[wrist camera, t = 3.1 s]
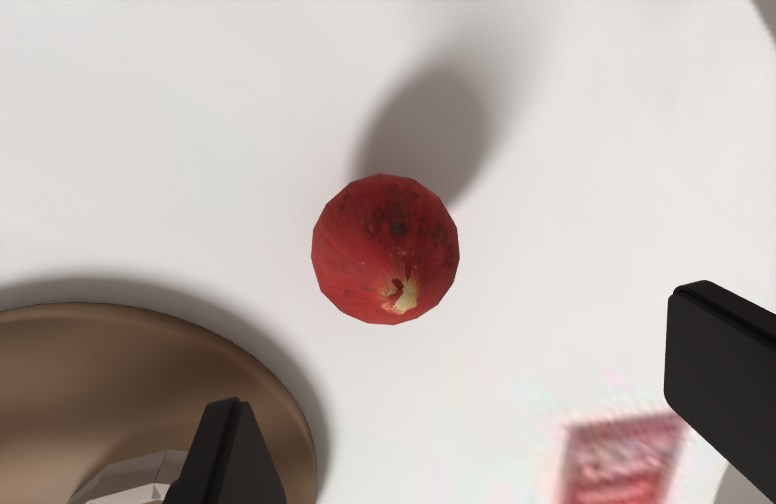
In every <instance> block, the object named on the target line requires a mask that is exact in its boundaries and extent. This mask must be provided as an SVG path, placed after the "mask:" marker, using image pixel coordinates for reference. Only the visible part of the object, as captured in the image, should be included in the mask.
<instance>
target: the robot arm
mask: <svg viewBox="0 0 776 504" xmlns="http://www.w3.org/2000/svg"><path fill="white" fill-rule="evenodd" d="M664 396H665V399H666V401H667V403H668V404H669V406H670V407H671V408H672V409H673V410H674V411H675V412H676V413H677V414H678V415H679V416H680V417H681V418H683V419H684V420H685V421H686V422H687V423H688V424H689V425H690V426H691V427H692V428H693V429H694V430H695V431H697V432H698V433H699V434H700V435H701V436H702V437H703V438H704V439H705V440H706V441H707V442H708V443H709V444H710V445H712V446H713V447H714V448H715V449H716V450H717V451H718V452H719V453H720V454H721V455H722V456H723V457H724V458H726V459H727V460H728V461H729V462H730V463H731V464H732V465H733V466H734V467H735V468H736V469H737V470H738V471H740V472H741V473H742V474H743V475H744V476H745V477H746V478H747V479H748V480H749V481H750V482H751V483H753V485H755V486H756V487H757V488H758V489H759V490H760V491H761V492H762V493H763V494H764V495H765V496H766V497H767V498H769V499H770V500H771V501H772V502H773V503H774V504H776V314H774V313H772V312H770V311H768V310H766V309H764V308H762V307H760V306H758V305H756V304H754V303H752V302H750V301H748V300H746V299H744V298H742V297H740V296H738V295H736V294H734V293H732V292H730V291H728V290H726V289H724V288H722V287H720V286H718V285H717V284H715V283H713V282H710V281H707V280H701V281H697V282H693V283H689V284H685V285H681V286H678V287H676V288H675V290H674V291H673V295H671V296H670V297H669V299H668V311H667V332H666V352H665V373H664ZM162 504H287V502H286V495H285V491H284V488H283V486H282V483H281V481H280V478H279V476H278V473H277V471H276V468H275V466H274V463H273V461H272V458H271V456H270V453H269V451H268V448H267V446H266V443H265V441H264V438H263V436H262V433H261V431H260V428H259V426H258V423H257V421H256V418H255V416H254V413H253V411H252V408H251V406H250V404H249V402H248V401H243V402H241V401H240V399H239V398H238V397H236V396H234V397H230V398H226V399H222V400H218V401H214V402H210V403H208V404H207V405H206V407H205V409H204V412H203V415H202V417H201V420H200V423H199V425H198V428H197V431H196V433H195V436H194V439H193V441H192V444H191V447H190V449H189V452H188V455H187V457H186V460H185V463H184V465H183V468H182V471H181V473H180V476H179V479H177V480H175V481H174V482H173V483H172V484H171V485H170V487H169V489H168V491H167V493H166V495H165V498H164V500H163V503H162Z"/></svg>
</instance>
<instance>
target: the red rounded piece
mask: <svg viewBox="0 0 776 504" xmlns="http://www.w3.org/2000/svg"><path fill="white" fill-rule="evenodd" d="M311 259H312V263H313V267H314V270H315V273H316V277H317V280H318V283H319V287H320V290H321V292H322V293H323V294H324V295H325V296H326V297H327V298H328V299H329V300H330V301H331V302H332V303H333V304H334V305H335V306H336V307H337V308H338V309H339V310H340V311H342V312H343V313H345V314H347V315H349V316H352V317H354V318H356V319H359V320H361V321H363V322H366V323H370V324H386V325H396V324H399V323H403V322H406V321H409V320H413V319H416V318H418V317H420V316H421V315H423V314H424V313H426V312H427V311H429V310H430V309H432V308H433V307H435V306H437V305H438V304H439V302H440V301H441V299H442V298H443V297H444V295H445V294H446V293H447V291H448V290H449V288H450V287H451V286H452V284H453V282H454V279H455V275H456V271H457V267H458V263H459V259H460V256H459V244H458V234H457V227H456V225H455V223H454V222H453V220H452V218H451V216H450V215H449V213H448V211H447V210H446V208H445V206H444V205H443V203H442V201H441V200H440V198H439V197H438V196H436V195H435V194H434V193H432V192H431V191H429V190H428V189H427V188H425V187H424V186H422V185H421V184H420V183H418V182H417V181H415V180H413V179H410V178H404V177H398V176H392V175H385V174H377V175H373V176H370V177H367V178H364V179H360V180H357V181H354V182H351V183H350V184H348V185H347V186H346V187H345V188H344V189H343V190H342V191H340V192H339V193H338V194H337V195H336V196H335V197H334V198H333V199H331V200H330V201H329V202H328V203H327V204H326V206H325V208H324V210H323V212H322V213H321V215H320V217H319V219H318V221H317V223H316V225H315V227H314V229H313V239H312V252H311Z"/></svg>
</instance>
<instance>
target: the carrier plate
mask: <svg viewBox="0 0 776 504" xmlns="http://www.w3.org/2000/svg"><path fill="white" fill-rule="evenodd" d="M234 396H236V397H238V398H239V399H240V401H241V402H243V401H248V402H249V404H250V406H251V408H252V411H253V413H254V416H255V418H256V421H257V423H258V426H259V428H260V431H261V433H262V436H263V438H264V441H265V443H266V446H267V448H268V451H269V453H270V456H271V458H272V461H273V463H274V466H275V468H276V471H277V473H278V476H279V478H280V481H281V483H282V486H283V488H284V491H285V495H286V502H287V504H315V500H316V457H315V448H314V444H313V440H312V436H311V432H310V429H309V427H308V424H307V422H306V420H305V418H304V415H303V413H302V411H301V409H300V408H299V406H298V405H297V403H296V402H295V400H294V398H293V397H292V395H291V394H290V392H289V391H288V390H287V389H286V388H285V387H284V385H283V384H282V383H281V382H280V381H279V380H278V379H277V377H276V376H275V375H274V374H273V373H272V372H271V371H269V370H268V369H267V368H266V367H265V366H264V365H263V364H261V363H260V362H259V361H258V360H257V359H256V358H254V357H253V356H252V355H250V354H249V353H247V352H246V351H244V350H243V349H241V348H240V347H238V346H237V345H235V344H234V343H232V342H231V341H229V340H227V339H225V338H223V337H221V336H219V335H217V334H215V333H213V332H211V331H209V330H207V329H205V328H203V327H200V326H197V325H195V324H192V323H189V322H187V321H184V320H181V319H179V318H176V317H173V316H169V315H165V314H161V313H157V312H153V311H149V310H145V309H141V308H134V307H127V306H121V305H114V304H104V303H79V302H70V303H54V304H39V305H33V306H27V307H22V308H16V309H11V310H5V311H1V312H0V504H162V503H163V500H164V498H165V495H166V493H167V491H168V489H169V487H170V485H171V484H172V483H173V482H174V481H175V480H177V479H179V476H180V473H181V471H182V468H183V465H184V463H185V460H186V457H187V455H188V452H189V449H190V447H191V444H192V441H193V439H194V436H195V433H196V431H197V428H198V425H199V423H200V420H201V417H202V415H203V412H204V409H205V407H206V405H207V404H208V403H210V402H214V401H218V400H222V399H226V398H230V397H234Z"/></svg>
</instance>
